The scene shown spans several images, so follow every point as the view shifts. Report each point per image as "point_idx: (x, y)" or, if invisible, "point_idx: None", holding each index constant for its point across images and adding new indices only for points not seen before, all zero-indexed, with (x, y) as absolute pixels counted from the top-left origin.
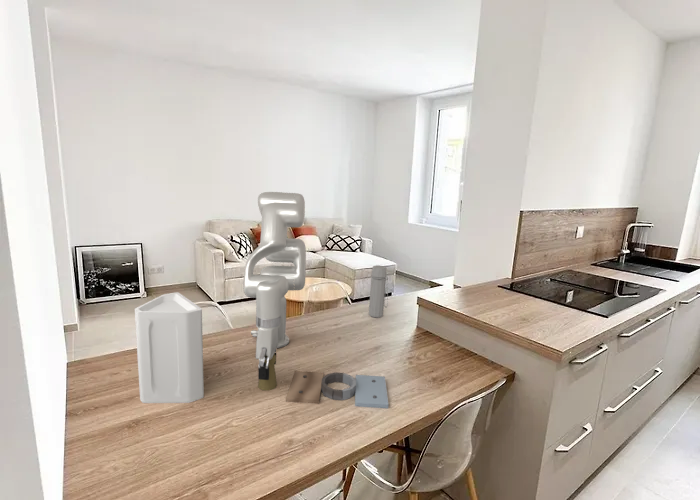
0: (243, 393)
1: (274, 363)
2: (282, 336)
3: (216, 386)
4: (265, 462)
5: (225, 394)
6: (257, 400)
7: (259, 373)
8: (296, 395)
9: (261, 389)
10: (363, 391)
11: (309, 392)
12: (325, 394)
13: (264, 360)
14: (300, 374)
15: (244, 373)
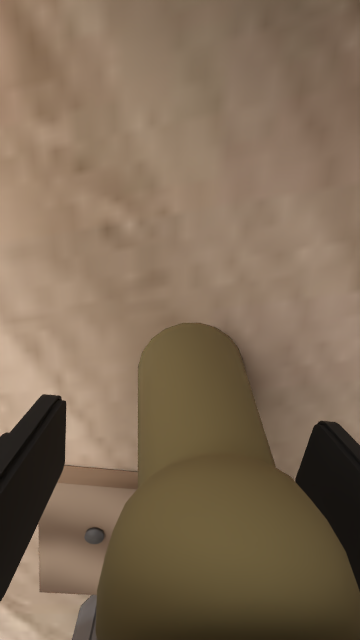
0: (104, 247)
1: (299, 486)
2: None
3: (190, 11)
4: None
5: (85, 119)
6: (41, 338)
7: (8, 442)
8: (64, 520)
9: (146, 347)
10: None
11: (95, 562)
12: (96, 601)
13: (98, 612)
14: None
15: (344, 217)
